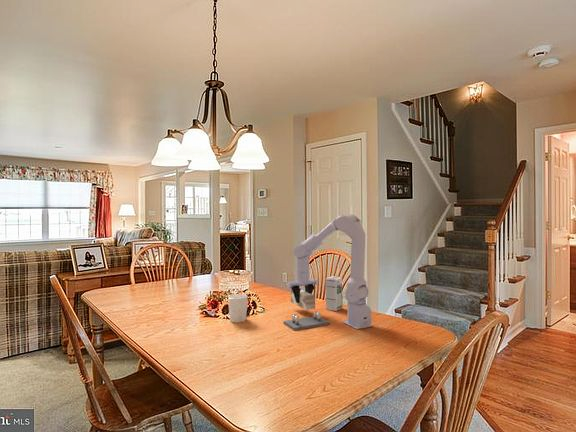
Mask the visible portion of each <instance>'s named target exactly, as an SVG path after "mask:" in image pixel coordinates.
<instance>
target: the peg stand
mask: <svg viewBox="0 0 576 432" xmlns="http://www.w3.org/2000/svg"><path fill="white" fill-rule="evenodd" d="M283 324H284V325H285V326H286V327H288V328H290V329H291V330H293V331H298V330H305V329H310V328H317V327H323V326H328V325H330V321H328V320H326V318H325V319H324V318H323V317H322V313H321V312H318V310H315V311H314V310H313V316H308V317H302V318H300V316H298V315H297V314H296V313H295V314H292V315H291V319H289V320H283Z"/></svg>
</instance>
